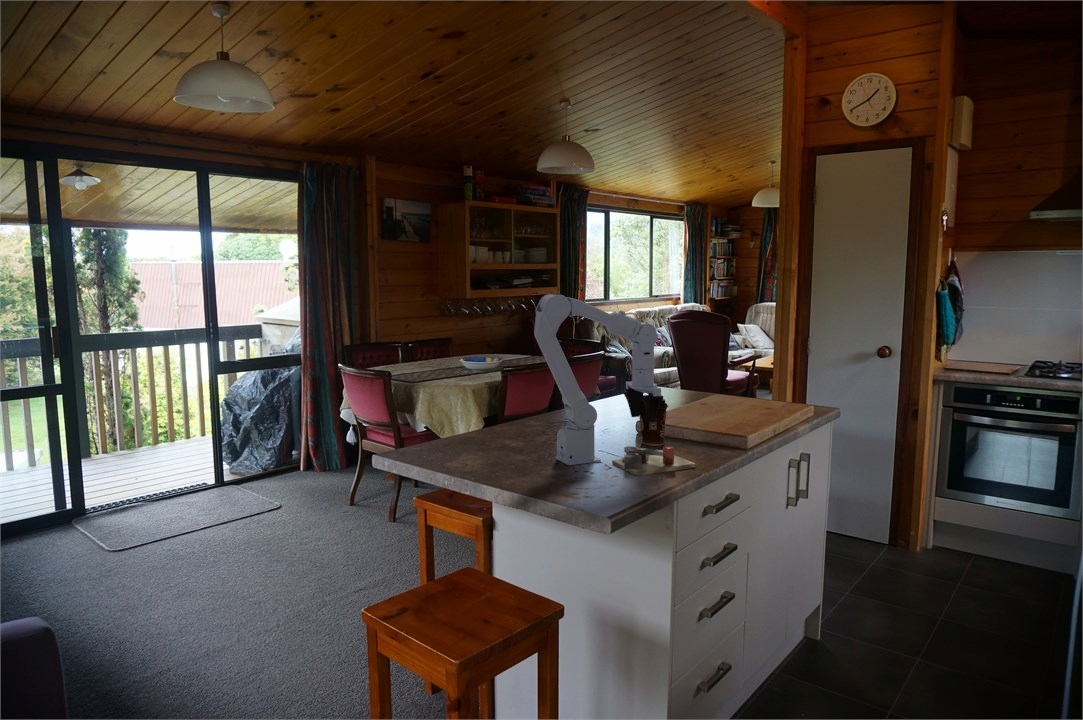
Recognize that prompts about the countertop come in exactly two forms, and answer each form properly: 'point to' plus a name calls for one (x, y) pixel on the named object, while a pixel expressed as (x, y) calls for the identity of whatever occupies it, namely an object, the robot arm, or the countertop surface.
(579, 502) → the countertop surface
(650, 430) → the coffee cup
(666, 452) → the lever
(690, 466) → the cracker base
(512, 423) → the countertop surface
